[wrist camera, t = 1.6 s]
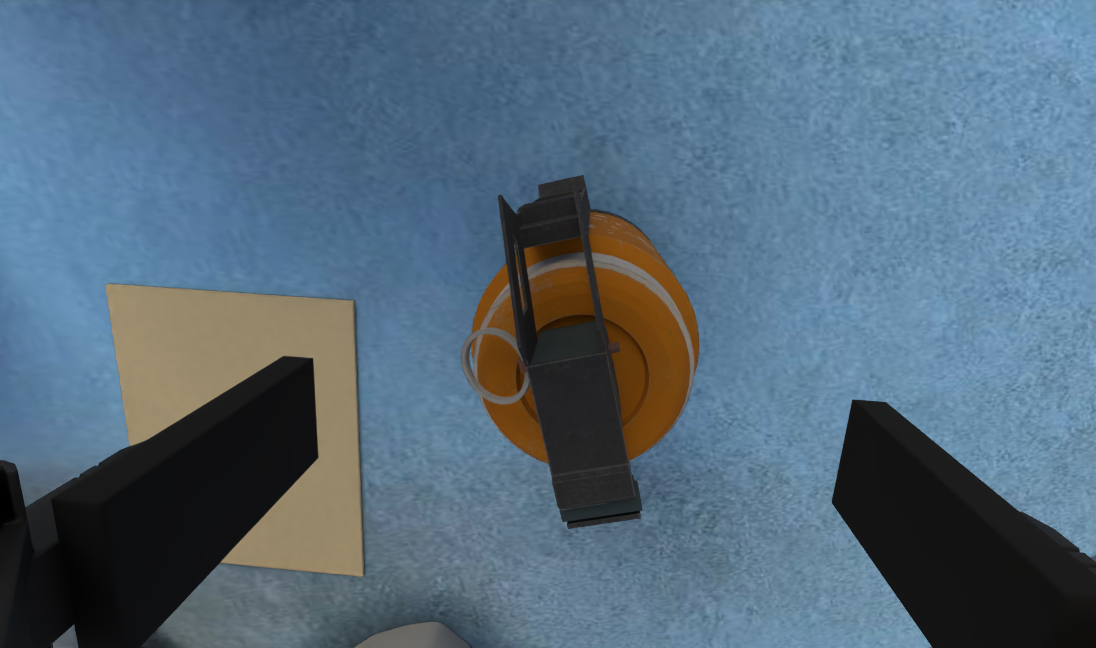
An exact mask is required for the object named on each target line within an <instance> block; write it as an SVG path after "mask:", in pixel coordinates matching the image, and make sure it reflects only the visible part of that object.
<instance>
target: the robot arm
mask: <svg viewBox="0 0 1096 648" xmlns="http://www.w3.org/2000/svg"><path fill="white" fill-rule="evenodd" d="M318 458H319V457H318V438H317V419H316V400H315V381H314V362H313V358H306V357H293V356H282V357H281V358H279V359H278V360H276V361H274V362H273V363H271V364H269V365H268V366H266V367H265V368H263V369H261V370H260V371H258V372H256V373H255V374H253V375H252V376H250V377H248V378H247V379H245V380H243V381H242V382H240V383H239V384H237V385H235V386H234V387H232V388H230V389H229V390H227V391H226V392H224V393H222V394H221V395H219V396H217V397H216V398H214V399H213V400H211V401H209V402H208V403H206V404H204V405H203V406H201V407H200V408H198V409H196V410H195V411H193V412H191V413H190V414H188V415H187V416H185V417H183V418H182V419H180V420H178V421H177V422H175V423H174V424H172V425H170V426H169V427H167V428H165V429H164V430H162V431H161V432H159V433H157V434H156V435H154V436H152V437H151V438H149V439H148V440H145V441H143V442H140V443H137V444H135V445H132V446H129V447H127V448H124V449H121V450H120V451H118V452H116V453H115V454H113V455H111V456H110V457H108V458H107V459H105V460H103V461H102V462H100V463H99V465H98V466H93V467H92V468H90V469H88V470H87V471H85V472H83V473H82V474H80V477H79V478H73V479H72V480H70V481H68V482H67V483H65V484H63V485H62V486H60V487H58V488H57V489H55V490H53V491H52V492H50V493H48V494H47V495H45V496H43V497H42V498H40V499H39V500H37V501H35V502H34V503H32V504H30V505H29V506H27V507H25V505H24V500H23V495H22V490H21V485H20V480H19V475H18V470H17V468H16V466H15V464H13V463H10V462H7V461H4V460H0V648H53V644H52V643H53V642H54V641H55V640H57V639H58V638H59V637H60V636H61V635H62V634H63V633H65V632H66V631H67V630H68V629H69V628H70V627H71V626H72V625H75V631H76V636H77V641H78V647H79V648H140V647H141V646H142V645H143V644H144V643H145V642H146V641H147V640H148V638H149V637H150V636H151V635H152V634H153V633H154V632H155V631H156V630H157V629H158V628H159V627H160V626H161V625H162V624H163V623H164V622H165V620H166V619H167V618H168V617H169V616H170V615H171V614H172V613H173V612H174V611H175V610H176V609H177V608H178V607H179V606H180V605H181V603H182V602H183V601H184V600H185V599H186V598H187V597H188V596H189V595H190V594H191V593H192V592H193V591H194V590H195V589H196V588H197V586H198V585H199V584H200V583H201V582H202V581H203V580H204V579H205V578H206V577H207V576H208V575H209V574H210V573H211V572H212V571H213V569H214V568H215V567H216V566H217V565H218V564H219V563H220V562H221V561H222V560H223V559H224V558H225V557H226V556H227V555H228V554H229V552H230V551H231V550H232V549H233V548H234V547H235V546H236V545H237V544H238V543H239V542H240V541H241V540H242V539H243V538H244V537H245V535H246V534H247V533H248V532H249V531H250V530H251V529H252V528H253V527H254V526H255V525H256V524H257V523H258V522H259V521H260V520H261V518H262V517H263V516H264V515H265V514H266V513H267V512H268V511H269V510H270V509H271V508H272V507H273V506H274V505H275V504H276V503H277V501H278V500H279V499H280V498H281V497H282V496H283V495H284V494H285V493H286V492H287V491H288V490H289V489H290V488H291V487H292V486H293V484H294V483H295V482H296V481H297V480H298V479H299V478H300V477H301V476H302V475H303V474H304V473H305V472H306V471H307V470H308V469H309V467H310V466H311V465H312V464H313V463H314V462H315V461H316V460H317V459H318ZM832 504H833V505H834V507H835V508H836V510H837V511H838V512H839V514H840V515H841V517H842V518H843V520H844V521H845V523H846V524H847V525H848V527H849V528H850V530H851V531H852V533H853V534H854V535H855V537H856V538H857V540H858V541H859V543H860V544H861V545H862V547H863V548H864V550H865V551H866V553H867V554H868V556H869V557H870V558H871V560H872V561H873V563H874V564H875V566H876V567H877V568H878V570H879V571H880V573H881V574H882V576H883V577H884V578H885V580H886V581H887V583H888V584H889V586H890V587H891V589H892V590H893V591H894V593H895V594H896V596H897V597H898V599H899V600H900V601H901V603H902V604H903V606H904V607H905V609H906V610H907V612H908V613H909V614H910V616H911V617H912V619H913V620H914V622H915V623H916V624H917V626H918V627H919V629H920V630H921V632H922V633H923V634H924V636H925V637H926V639H927V640H928V642H929V643H930V645H931V646H932V647H933V648H1096V562H1095V561H1094V560H1093V559H1091V558H1090V557H1089V556H1088V555H1086V554H1085V553H1080V551H1079V548H1077V547H1076V546H1075V545H1074V544H1072V543H1071V542H1070V541H1069V540H1067V539H1066V538H1065V537H1064V536H1062V535H1061V534H1060V533H1059V532H1057V531H1056V530H1055V529H1053V528H1051V527H1049V526H1047V525H1046V524H1044V523H1042V522H1040V521H1038V520H1036V519H1034V518H1033V517H1031V516H1029V515H1027V514H1025V513H1023V512H1019V511H1018V510H1016V509H1015V508H1014V507H1013V506H1012V505H1010V504H1009V503H1008V502H1007V501H1005V500H1004V499H1003V498H1002V497H1001V496H999V495H998V494H997V493H996V492H994V491H993V490H992V489H991V488H990V487H988V486H987V485H986V484H985V483H984V482H982V481H981V480H980V479H979V478H977V477H976V476H975V475H974V474H973V473H971V472H970V471H969V470H968V469H967V468H965V467H964V466H963V465H962V464H960V463H959V462H958V461H957V460H956V459H954V458H953V457H952V456H951V455H949V454H948V453H947V452H946V451H945V450H943V449H942V448H941V447H940V446H939V445H937V444H936V443H935V442H934V441H932V440H931V439H930V438H929V437H928V436H926V435H925V434H924V433H923V432H921V431H920V430H919V429H918V428H917V427H915V426H914V425H913V424H912V423H911V422H909V421H908V420H907V419H906V418H904V417H903V416H902V415H901V414H900V413H898V412H897V411H896V410H895V409H894V408H892V407H891V406H890V405H889V404H887V403H886V402H878V401H865V400H852V404H851V409H850V414H849V419H848V424H847V429H846V434H845V439H844V444H843V449H842V454H841V459H840V464H839V469H838V474H837V479H836V484H835V489H834V493H833V498H832Z"/></svg>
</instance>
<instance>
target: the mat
mask: <svg viewBox="0 0 1096 648" xmlns="http://www.w3.org/2000/svg"><path fill="white" fill-rule="evenodd" d="M105 286H106V292H107V299H108V306H109V312H110V319H111V326H112V332H113V339H114V346H115V352H116V359H117V366H118V372H119V379H120V385H121V392H122V399H123V405H124V412H125V419H126V425H127V432H128V439H129V445H130V446H132V445H135V444H137V443H140V442H143V441H145V440H148V439H149V438H151V437H152V436H154V435H156V434H157V433H159V432H161V431H162V430H164V429H165V428H167V427H169V426H170V425H172V424H174V423H175V422H177V421H178V420H180V419H182V418H183V417H185V416H187V415H188V414H190V413H191V412H193V411H195V410H196V409H198V408H200V407H201V406H203V405H204V404H206V403H208V402H209V401H211V400H213V399H214V398H216V397H217V396H219V395H221V394H222V393H224V392H226V391H227V390H229V389H230V388H232V387H234V386H235V385H237V384H239V383H240V382H242V381H243V380H245V379H247V378H248V377H250V376H252V375H253V374H255V373H256V372H258V371H260V370H261V369H263V368H265V367H266V366H268V365H269V364H271V363H273V362H274V361H276V360H278V359H279V358H281V357H282V356H293V357H306V358H313V362H314V381H315V400H316V419H317V438H318V457H319V458H318V459H317V460H316V461H315V462H314V463H313V464H312V465H311V466H310V467H309V469H308V470H307V471H306V472H305V473H304V474H303V475H302V476H301V477H300V478H299V479H298V480H297V481H296V482H295V483H294V484H293V486H292V487H291V488H290V489H289V490H288V491H287V492H286V493H285V494H284V495H283V496H282V497H281V498H280V499H279V500H278V501H277V503H276V504H275V505H274V506H273V507H272V508H271V509H270V510H269V511H268V512H267V513H266V514H265V515H264V516H263V517H262V518H261V520H260V521H259V522H258V523H257V524H256V525H255V526H254V527H253V528H252V529H251V530H250V531H249V532H248V533H247V534H246V535H245V537H244V538H243V539H242V540H241V541H240V542H239V543H238V544H237V545H236V546H235V547H234V548H233V549H232V550H231V551H230V552H229V554H228V555H227V556H226V557H225V558H224V559H223V560H222V561H221V562H220V563H227V564H237V565H248V566H258V567H268V568H279V569H289V570H299V571H310V572H320V573H330V574H341V575H351V576H362V577H363V575H364V551H363V523H362V496H361V468H360V440H359V412H358V384H357V356H356V328H355V301H353V300H338V299H324V298H310V297H295V296H281V295H267V294H252V293H238V292H224V291H209V290H195V289H181V288H166V287H152V286H138V285H123V284H105Z"/></svg>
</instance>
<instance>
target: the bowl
mask: <svg viewBox="0 0 1096 648" xmlns="http://www.w3.org/2000/svg"><path fill="white" fill-rule="evenodd" d="M354 648H471V647H470V646H469V645H468V644H467V643H466V642H465V641H464V640H462V639H461V638H460V637H459V636H457V635H456V634H455V633H454V632H452V631H451V630H450V629H449V628H447V627H446V626H445V625H443V624H441V623H439V622H426V623H418V624H411V625H405V626H401V627H398V628H395V629H391V630H388V631H385V632H381V633H378V634H374V635H372V636H371V637H369V638H368V639H366V640H365V641H363V642H362V643H360V644H359V645H357V646H355V647H354Z"/></svg>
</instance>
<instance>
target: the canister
mask: <svg viewBox="0 0 1096 648" xmlns="http://www.w3.org/2000/svg"><path fill="white" fill-rule="evenodd" d="M538 190H539V198H538V199H537V200H535V201H534V202H533V203H529V204H525V205H523V206H521V207H520V208H518V210H517V212H518V213H517V214H515V213H514V211H513V210H512V209H511V207H510V206H509V205H508V203H507V202H506V201H505V199H504V198H503V197H502V195H498V201H499V209H500V217H501V224H502V232H503V240H504V247H505V255H506V264H505V265H504V266H503V267H502V269H501V270H500V271H499V272H498V273H497V275H496V276H495V277H494V279H493V280H492V281H491V283H490V284H489V285H488V287H487V288H486V290H485V292H484V294H483V296H482V298H481V300H480V302H479V304H478V308H477V311H476V314H475V317H474V321H473V328H472V334H471V335H470V336H469V337H468V338H467V339H466V341H465V342H464V345H463V347H462V352H461V363H462V368H463V371H464V374H465V376H466V378H467V380H468V382H469V383H470V385H471V386H472V387H473V389H474V390H475V391H476V392H477V393H478V394H479V397H480V400H481V403H482V405H483V407H484V409H485V410H486V412H487V414H488V416H489V418H490V419H491V421H492V422H493V423H494V425H495V426H496V427H497V429H498V430H499V431H500V432H501V433H502V434H503V435H504V436H505V437H506V438H507V439H508V440H509V441H510V442H511V443H513V444H514V445H515V446H517V447H518V448H519V449H521V450H522V451H524V452H525V453H526V454H528V455H530V456H532V457H534V458H536V459H538V460H540V461H542V462H545V463H548V464H549V467H550V471H551V475H552V484H553V488H554V492H555V496H556V501H557V505H558V508H559V509H560V514H561V518H562V521H563V522H567V527H568V529H571V528H578V527H585V526H591V525H598V524H605V523H612V522H619V521H626V520H633V519H639V518H641V515H640V511H641V510H642V504H641V499H640V493H639V488H638V483H637V481H634V477H633V475H632V474H631V469H630V464H629V460H632V459H634V458H635V457H637V456H639V455H641V454H642V453H644V452H646V451H648V450H649V449H651V448H652V447H653V446H654V445H656V444H657V443H658V442H659V441H661V440H662V439H663V438H664V437H665V436H666V434H667V433H668V432H669V431H670V430H671V429H672V428H673V427H674V425H675V424H676V422H677V421H678V419H679V418H680V416H681V415H682V413H683V411H684V408H685V406H686V404H687V402H688V400H689V396H690V393H691V389H692V385H693V378H694V375H695V371H696V367H697V363H698V354H699V334H698V326H697V322H696V317H695V313H694V310H693V308H692V305H691V303H690V301H689V298H688V296H687V294H686V293H685V291H684V289H683V288H682V286H681V285H680V283H679V282H678V280H677V279H676V277H675V276H674V274H673V273H672V272H671V270H670V269H669V267H668V266H667V264H666V263H665V261H664V260H663V259H662V257H661V256H660V254H659V253H658V251H657V250H656V249H655V247H654V246H653V244H652V243H651V241H650V240H649V239H648V237H647V236H646V235H645V234H644V233H643V232H642V231H641V230H640V229H639V228H638V227H636V226H635V225H634V224H632V223H631V222H630V221H628V220H626V219H624V218H622V217H621V216H618V215H615V214H612V213H610V212H606V211H600V210H590V204H589V199H588V195H587V190H586V185H585V180H584V176H583V175H581V176H576V177H572V178H567V179H563V180H558V181H554V182H549V183H545V184H540V185H538ZM514 245H515V248H514ZM515 251H516V252H515ZM470 347H471V351H472V358H473V364H474V375H473V373H472V370H471V367H470V363H469V351H470Z"/></svg>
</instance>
